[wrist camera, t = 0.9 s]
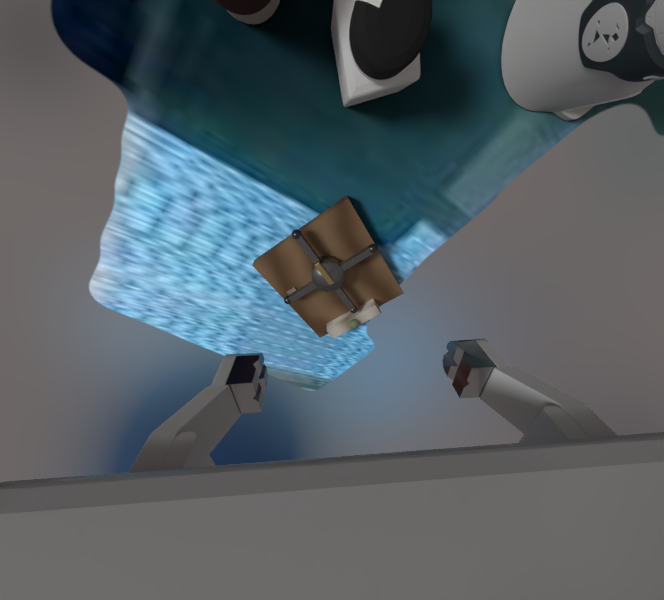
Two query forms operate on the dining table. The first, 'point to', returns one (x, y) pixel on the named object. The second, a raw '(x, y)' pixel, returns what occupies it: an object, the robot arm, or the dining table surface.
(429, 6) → the medicine bottle
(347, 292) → the stand
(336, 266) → the capstan
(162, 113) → the dining table surface
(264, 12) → the coffee cup
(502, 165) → the dining table surface
